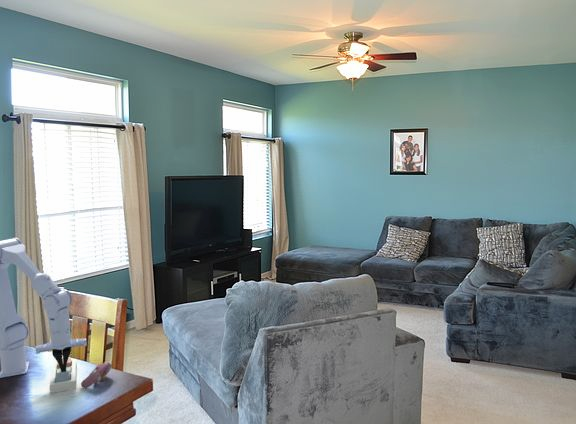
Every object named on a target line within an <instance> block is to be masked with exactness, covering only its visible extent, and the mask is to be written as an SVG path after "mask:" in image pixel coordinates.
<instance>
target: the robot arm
mask: <svg viewBox="0 0 576 424" xmlns="http://www.w3.org/2000/svg"><path fill="white" fill-rule="evenodd" d="M26 252H27V251H26V245H25V244H23V241H22V240H20V239H19V238H18V237H11V238H7V239H3V240H0V367H1V370H0V379H2V378H8V377H12V376H19V375H23V374H25V375H26V374H27V373H28V370H29V366H30V361H27V357H26V346H25V344H26V343H27V338H29V336H30V329H29V326H28V324H27V323H26V319H25V318H24V316H21V315H19V314H18V313H17V309H16V304H15V299H14V295H13V291H12V286H11V282H10V277H9V272H8V268H9V266H10V265H15V267H17V269H19V270H20V271H21V272H22V273H23V274H24V275H25V276H26V277H27V278H28V279H29V281H30V286H31V288H32V289H33V290H34V291H35V292H36V294H37V295H38V296H39V297H40V298H41V299H42V300H43V303H42V306H43V308H44V310H45V311H46V316H47V317H48V322H49V324H48V325H49V331H50V332H49V334H50V335H49V336H50V342H47V343H43V344H39V345H35V348H34V349H35V354H36V355H37V354H41V353H47V352H51V351H52V353H51V354H52V356H53V358H54V359H55V360H56V361H55V362H58V364H59V366H60V369H61V372H66V365H67V361H68V358H70V355H71V353H72V348H77V347H87V338H86V337H85V338H71V337H72V336H71V324H70V322H71V321H70V313H69V312H70V311H69V307H70V306H71V305H72V303H73V297H72V294H71V293H70V292H69V290H67V289H66V288H65V289H64V288H62V287H59V286H58V285H57V284H56V282H55V281H54V280H53V279H52V278H51V276H50V275H49V274H47V273H43V272H42V273H41V271H40V270H39V269H38V268H37V266H36V265H35V264H34V262H33V261H32V260H31V258H30V257H29V255H28V254H27V253H26ZM62 359H63V360H62Z"/></svg>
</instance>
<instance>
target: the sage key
mask: <svg viewBox="0 0 576 424" xmlns="http://www.w3.org/2000/svg"><path fill="white" fill-rule="evenodd" d="M66 371H70V373H71V367H68V368H66ZM60 372H61V369H57V373H60Z"/></svg>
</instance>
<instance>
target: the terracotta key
mask: <svg viewBox="0 0 576 424" xmlns="http://www.w3.org/2000/svg"><path fill="white" fill-rule="evenodd" d="M62 360H63V358H62ZM71 360H72V358H71V357H69V358H68V361H67V365H66V367H69V366H71ZM56 362H57V361H56ZM57 368H60V366H59V364H58V362H57Z"/></svg>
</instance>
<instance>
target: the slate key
mask: <svg viewBox="0 0 576 424" xmlns="http://www.w3.org/2000/svg"><path fill="white" fill-rule="evenodd" d="M68 380H70V371H66V372H60V373H56V376H55V382H56V383H57V382H62V381H68Z"/></svg>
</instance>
